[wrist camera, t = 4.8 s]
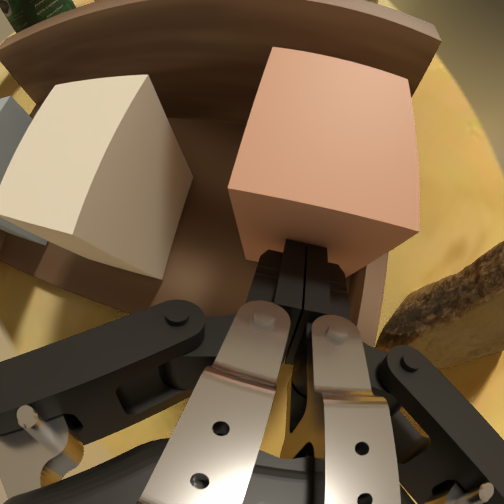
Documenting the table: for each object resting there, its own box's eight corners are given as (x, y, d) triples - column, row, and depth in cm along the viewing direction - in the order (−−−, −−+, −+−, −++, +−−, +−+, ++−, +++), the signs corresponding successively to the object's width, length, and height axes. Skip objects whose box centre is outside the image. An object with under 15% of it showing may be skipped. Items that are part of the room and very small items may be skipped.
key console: (349, 363, 14) (467, 409, 4) (-3, 258, 16) (-94, 220, 7) (375, 141, 17) (433, 25, 7) (61, 110, 19) (6, 38, 10)
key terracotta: (342, 279, 14) (419, 231, 7) (246, 259, 15) (227, 188, 7) (354, 177, 16) (407, 79, 8) (269, 158, 16) (272, 46, 8)
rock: (543, 287, 12) (477, 186, 12) (601, 357, 4) (565, 227, 5) (443, 383, 17) (361, 314, 17) (458, 475, 9) (356, 421, 10)
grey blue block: (45, 245, 15) (-43, 201, 8) (8, 232, 16) (-67, 194, 8) (77, 163, 17) (10, 95, 9) (36, 161, 17) (-25, 106, 9)
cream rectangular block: (162, 279, 15) (72, 234, 7) (88, 259, 15) (-11, 211, 7) (193, 176, 16) (148, 74, 8) (121, 167, 16) (55, 84, 9)
